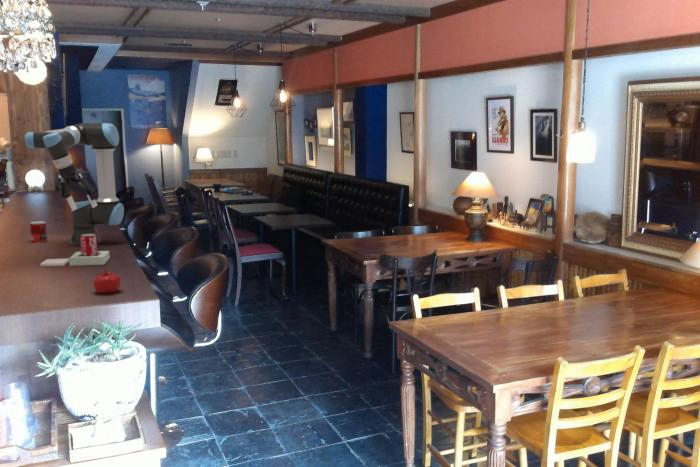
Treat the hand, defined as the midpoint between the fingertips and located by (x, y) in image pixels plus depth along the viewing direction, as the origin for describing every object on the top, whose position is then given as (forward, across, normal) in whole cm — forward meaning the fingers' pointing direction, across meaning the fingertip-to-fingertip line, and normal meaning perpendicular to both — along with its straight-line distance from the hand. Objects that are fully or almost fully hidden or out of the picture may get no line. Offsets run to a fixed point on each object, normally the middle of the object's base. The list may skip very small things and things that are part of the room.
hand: (84, 208), depth 299 cm
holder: (+24, -2, -9) cm, 25 cm away
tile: (+19, -13, -18) cm, 29 cm away
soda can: (+24, -2, -9) cm, 26 cm away
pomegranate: (+20, +47, -46) cm, 69 cm away
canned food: (+21, -67, +18) cm, 73 cm away
